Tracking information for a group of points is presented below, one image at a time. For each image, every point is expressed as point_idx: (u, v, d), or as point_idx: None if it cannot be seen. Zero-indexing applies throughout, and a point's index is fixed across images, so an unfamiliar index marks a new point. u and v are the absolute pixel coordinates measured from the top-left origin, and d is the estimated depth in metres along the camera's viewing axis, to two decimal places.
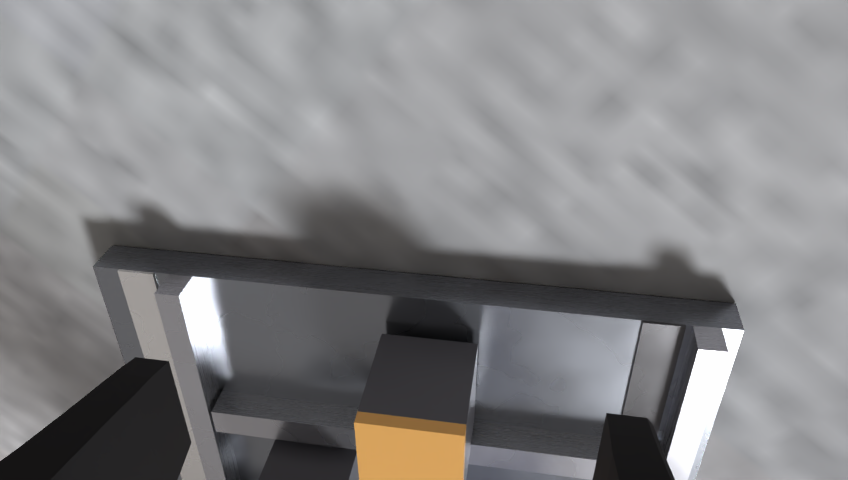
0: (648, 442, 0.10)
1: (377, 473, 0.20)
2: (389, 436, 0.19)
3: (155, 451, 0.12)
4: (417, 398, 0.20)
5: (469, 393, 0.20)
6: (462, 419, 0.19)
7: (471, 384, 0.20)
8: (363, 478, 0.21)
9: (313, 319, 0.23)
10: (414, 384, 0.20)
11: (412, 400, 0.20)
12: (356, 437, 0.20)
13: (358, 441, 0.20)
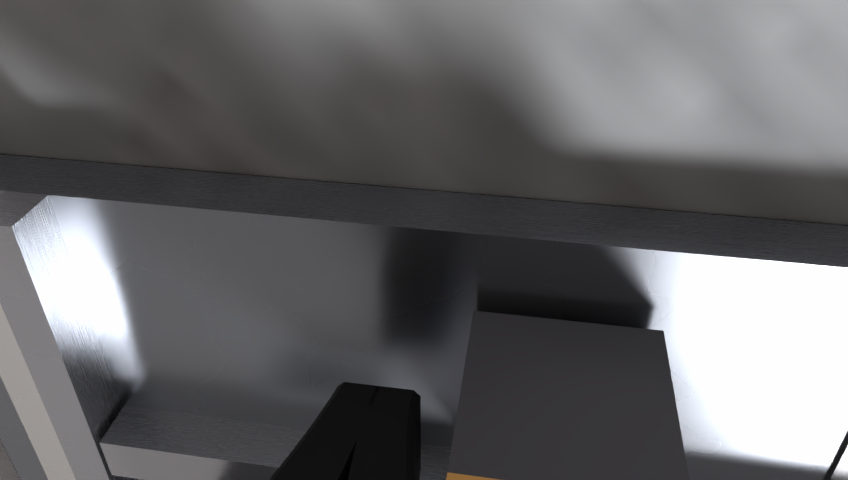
0: (402, 412, 0.11)
1: None
2: None
3: None
4: (570, 444, 0.09)
5: (677, 432, 0.10)
6: None
7: (675, 412, 0.10)
8: None
9: (274, 277, 0.12)
10: (559, 411, 0.10)
11: (562, 449, 0.09)
12: None
13: None
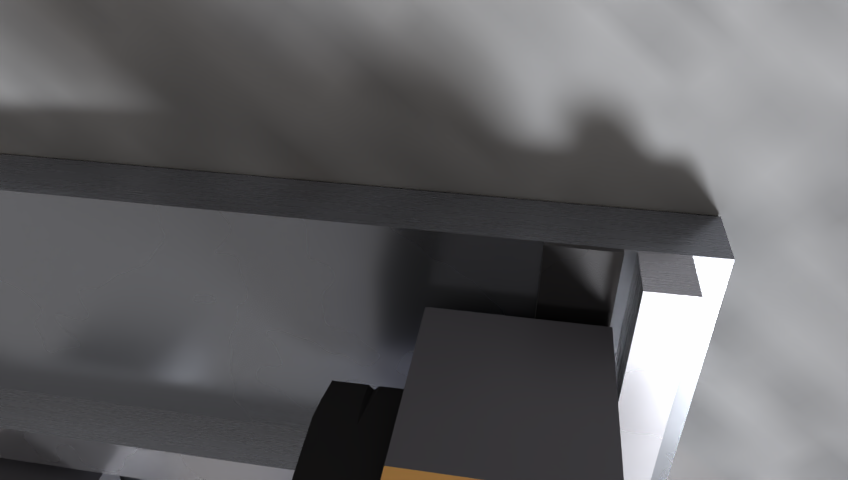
0: (354, 406, 0.11)
1: None
2: None
3: None
4: (509, 439, 0.09)
5: (616, 427, 0.10)
6: None
7: (616, 408, 0.10)
8: None
9: None
10: (501, 406, 0.10)
11: (500, 443, 0.09)
12: None
13: None
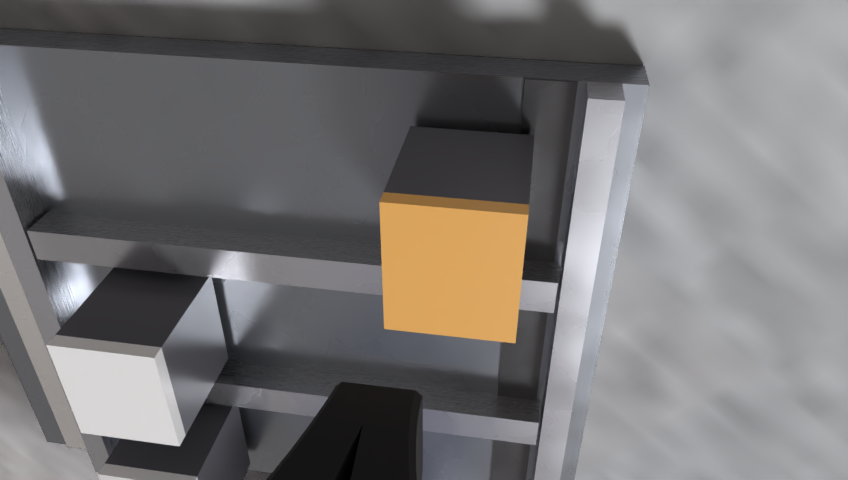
0: (404, 412, 0.11)
1: (407, 284, 0.16)
2: (426, 222, 0.15)
3: None
4: (461, 181, 0.15)
5: (529, 177, 0.15)
6: (524, 200, 0.15)
7: (530, 170, 0.16)
8: (388, 293, 0.16)
9: (135, 100, 0.19)
10: (456, 169, 0.16)
11: (455, 183, 0.15)
12: (381, 227, 0.15)
13: (384, 233, 0.15)
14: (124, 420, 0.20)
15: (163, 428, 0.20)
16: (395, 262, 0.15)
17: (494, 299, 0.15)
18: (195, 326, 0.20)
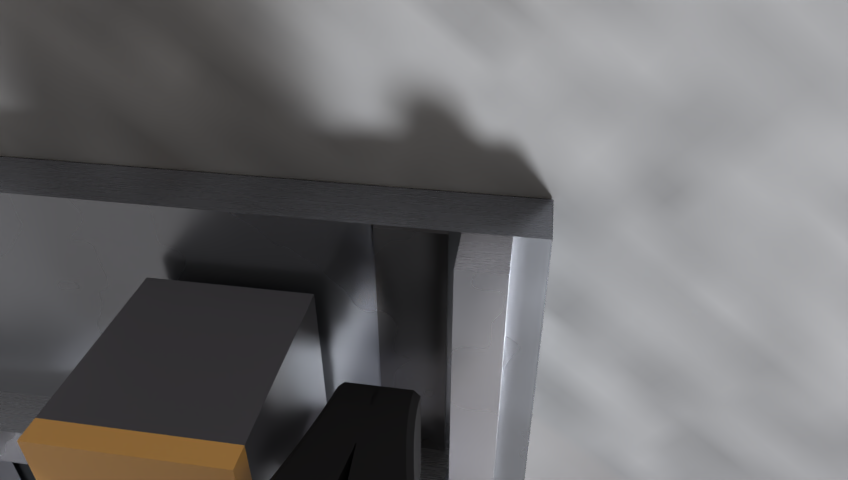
0: (402, 412, 0.11)
1: None
2: (92, 469, 0.10)
3: None
4: (164, 393, 0.10)
5: (270, 382, 0.10)
6: (240, 435, 0.09)
7: (280, 366, 0.11)
8: None
9: None
10: (171, 365, 0.11)
11: (153, 397, 0.10)
12: (33, 470, 0.10)
13: (40, 478, 0.10)
14: None
15: None
16: None
17: None
18: None
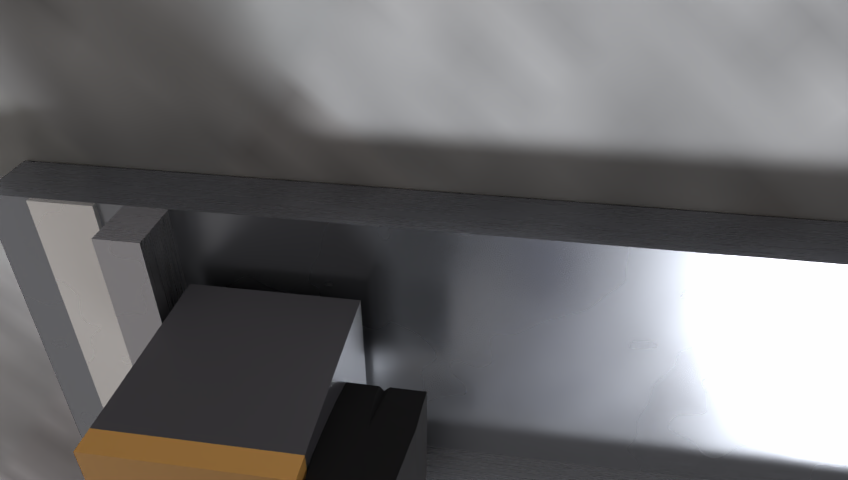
0: (365, 407, 0.11)
1: None
2: None
3: None
4: (218, 402, 0.10)
5: (325, 391, 0.10)
6: (298, 445, 0.09)
7: (333, 373, 0.11)
8: None
9: (398, 291, 0.12)
10: (223, 373, 0.10)
11: (207, 406, 0.10)
12: None
13: None
14: None
15: None
16: None
17: None
18: None
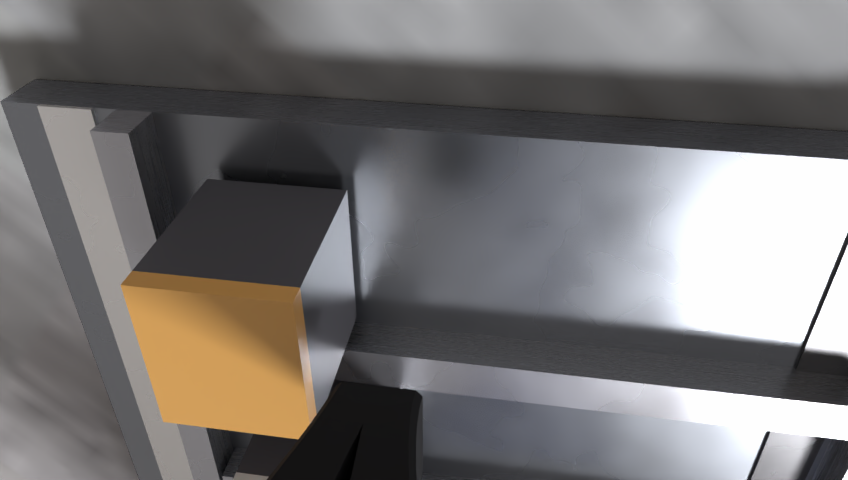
0: (404, 412, 0.11)
1: (176, 375, 0.13)
2: (179, 308, 0.12)
3: None
4: (232, 255, 0.13)
5: (317, 248, 0.13)
6: (296, 282, 0.12)
7: (324, 238, 0.13)
8: (158, 384, 0.13)
9: (339, 181, 0.15)
10: (235, 237, 0.13)
11: (224, 258, 0.13)
12: (131, 312, 0.12)
13: (135, 319, 0.12)
14: None
15: None
16: (156, 351, 0.13)
17: (277, 393, 0.13)
18: None
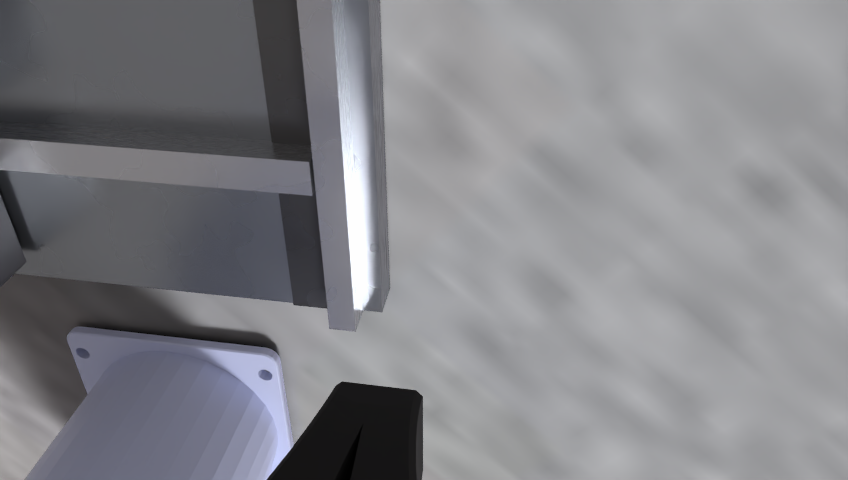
0: (404, 412, 0.11)
1: None
2: None
3: None
4: None
5: None
6: None
7: None
8: None
9: None
10: None
11: None
12: None
13: None
14: None
15: None
16: None
17: None
18: None
